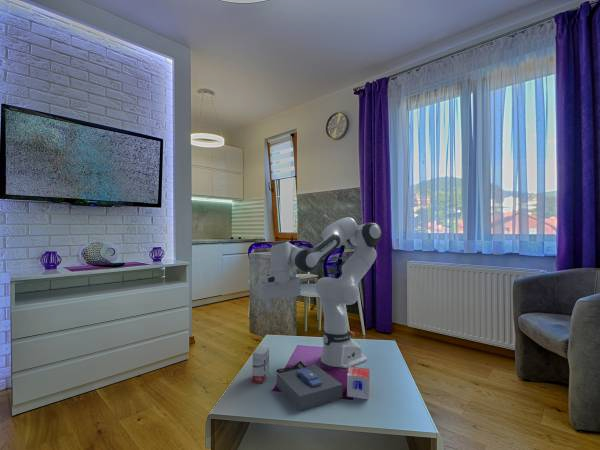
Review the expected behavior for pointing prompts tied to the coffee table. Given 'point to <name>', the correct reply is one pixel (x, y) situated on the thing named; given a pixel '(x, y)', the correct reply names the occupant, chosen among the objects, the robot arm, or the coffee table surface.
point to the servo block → (308, 377)
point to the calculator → (297, 366)
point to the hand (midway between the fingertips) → (279, 307)
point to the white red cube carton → (358, 382)
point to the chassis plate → (309, 388)
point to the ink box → (260, 364)
